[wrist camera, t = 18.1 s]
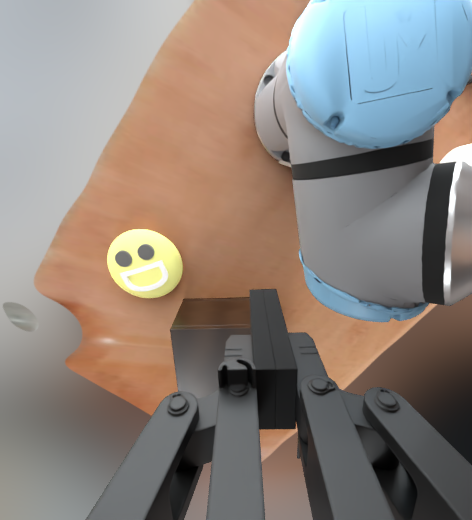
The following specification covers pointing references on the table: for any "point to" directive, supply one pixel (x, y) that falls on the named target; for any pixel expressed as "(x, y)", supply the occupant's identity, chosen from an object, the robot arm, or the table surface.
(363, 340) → the table surface
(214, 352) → the case
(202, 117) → the table surface
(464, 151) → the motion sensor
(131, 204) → the table surface
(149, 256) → the emoji
